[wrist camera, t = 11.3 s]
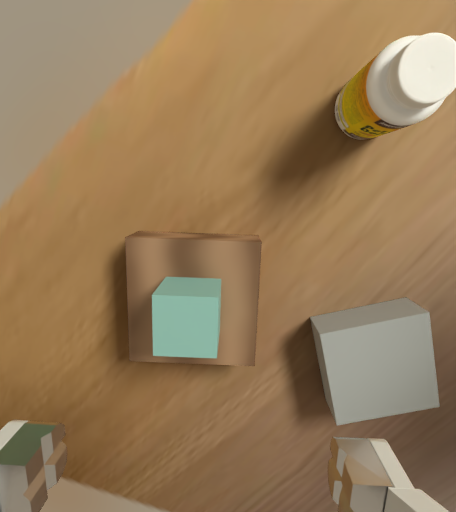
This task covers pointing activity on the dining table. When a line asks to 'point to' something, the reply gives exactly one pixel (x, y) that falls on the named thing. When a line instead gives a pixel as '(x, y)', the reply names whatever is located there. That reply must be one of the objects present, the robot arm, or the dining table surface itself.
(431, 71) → the supplement bottle
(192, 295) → the teal cube
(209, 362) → the walnut block
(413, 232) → the dining table surface
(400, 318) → the slate block
